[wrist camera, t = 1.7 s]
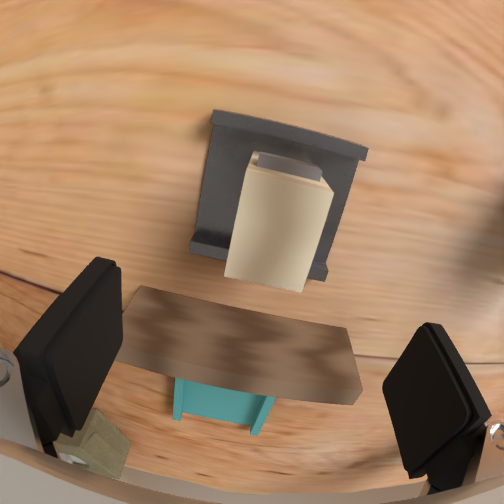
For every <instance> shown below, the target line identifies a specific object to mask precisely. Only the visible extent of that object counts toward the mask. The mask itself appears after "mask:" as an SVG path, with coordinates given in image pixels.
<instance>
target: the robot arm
mask: <svg viewBox="0 0 504 504" xmlns="http://www.w3.org/2000/svg"><path fill="white" fill-rule="evenodd" d="M122 342H123V321H122V293H121V268H120V267H117V266H116V262H115V261H113V260H109V259H105V258H101V257H96V258H94V259H93V260H92V262H91V263H90V264H89V265H88V266H87V267H86V268H85V269H84V270H83V271H82V272H81V273H80V275H79V276H78V277H77V278H76V279H75V280H74V281H73V282H72V283H71V285H70V286H69V287H68V288H67V289H66V290H65V291H64V293H62V294H61V295H59V296H58V297H57V299H56V300H55V301H54V302H53V303H52V304H51V306H50V307H49V308H48V309H47V310H46V312H45V313H44V314H43V315H42V316H41V318H40V319H39V320H38V321H37V322H36V324H35V325H34V326H33V327H32V329H31V330H30V331H29V332H28V334H27V335H26V336H25V338H24V339H23V340H22V341H21V343H20V344H19V345H18V347H17V348H16V349H15V351H14V352H13V353H12V352H10V351H9V350H7V349H5V348H1V347H0V504H220V503H213V502H206V501H201V500H195V499H190V498H184V497H179V496H175V495H170V494H165V493H161V492H157V491H153V490H150V489H146V488H142V487H139V486H135V485H131V484H128V483H125V482H121V481H118V480H115V479H112V478H108V477H105V476H102V475H100V474H97V473H94V472H91V471H88V470H86V469H83V468H80V467H78V466H75V465H73V464H70V463H68V462H65V461H63V460H62V459H61V457H60V454H59V451H58V448H57V445H56V443H55V441H56V440H57V439H58V437H59V435H60V433H62V434H64V435H67V436H69V437H71V438H72V437H73V435H74V433H75V431H76V430H78V431H80V430H81V429H82V428H83V426H84V424H85V421H86V419H87V417H88V415H89V412H90V410H91V408H92V406H93V404H94V401H95V399H96V397H97V395H98V393H99V391H100V389H101V386H102V384H103V382H104V380H105V378H106V376H107V374H108V372H109V370H110V368H111V366H112V364H113V362H114V360H115V358H116V356H117V354H118V352H119V350H120V348H121V345H122ZM382 390H383V394H384V397H385V400H386V404H387V407H388V410H389V414H390V417H391V421H392V424H393V428H394V431H395V435H396V439H397V442H398V446H399V450H400V454H401V458H402V462H403V466H404V469H405V470H406V471H408V475H409V479H413V478H419V477H423V476H424V475H425V474H427V476H428V478H427V480H426V482H425V484H424V487H423V489H422V491H421V493H420V495H419V497H417V498H413V499H407V500H401V501H395V502H389V503H382V504H504V422H502V421H500V420H494V421H489V422H486V421H487V420H488V419H489V418H490V417H491V416H492V415H491V413H490V411H489V409H488V407H487V405H486V403H485V401H484V399H483V397H482V395H481V393H480V391H479V389H478V387H477V385H476V383H475V381H474V380H473V378H472V376H471V374H470V372H469V370H468V369H467V367H466V365H465V363H464V361H463V360H462V358H461V356H460V354H459V353H458V351H457V349H456V348H455V346H454V344H453V343H452V341H451V339H450V338H449V336H448V334H447V333H446V331H445V329H444V328H443V326H442V325H440V324H435V323H428V322H427V323H424V324H423V325H422V326H420V327H419V328H418V329H417V331H416V332H415V334H414V336H413V337H412V339H411V341H410V342H409V344H408V345H407V347H406V349H405V350H404V352H403V353H402V355H401V356H400V358H399V359H398V361H397V362H396V364H395V365H394V367H393V368H392V370H391V371H390V373H389V374H388V376H387V377H386V379H385V380H384V382H383V386H382Z"/></svg>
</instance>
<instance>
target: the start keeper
mask: <svg viewBox="0 0 504 504" xmlns="http://www.w3.org/2000/svg"><path fill="white" fill-rule="evenodd" d="M211 124H214V127H213V132H212V137H211V142H210V147H209V152H208V157H207V163H206V168H205V174H204V179H203V185H202V191H201V197H200V203H199V209H198V215H197V221H196V228H195V234H194V236H193V237H192V239H191V241H190V248H189V253H193V254H198V255H202V256H207V257H211V258H216V259H220V260H225V261H227V258H228V253H229V248H230V243H231V239H232V234H233V229H234V224H235V219H236V215H237V210H238V205H239V201H240V196H241V191H242V187H243V182H244V177H245V173H246V170H247V167H248V164H249V162H250V159H251V157H252V154H253V151H257V152H260V151H261V152H265V153H270V154H274V155H278V156H283V157H287V158H291V159H295V160H299V161H303V162H307V163H310V164H314V165H318V167H319V168H320V169H321V170H322V177H323V179H324V180H325V181H326V183H327V184H328V185H329V187H330V188H331V190H332V191H333V192H334V195H333V198H332V202H331V205H330V208H329V211H328V215H327V218H326V221H325V224H324V227H323V230H322V234H321V237H320V240H319V243H318V246H317V249H316V252H315V255H314V258H313V261H312V264H311V267H310V270H309V273H308V276H307V278H308V279H313V280H318V281H323V282H325V279H326V277H327V274H328V268H327V265H326V260H327V257H328V254H329V251H330V249H331V246H332V243H333V240H334V237H335V234H336V231H337V228H338V225H339V222H340V219H341V216H342V213H343V210H344V207H345V203H346V200H347V197H348V194H349V191H350V188H351V184H352V181H353V178H354V174H355V171H356V168H357V164H358V161H359V160H362V161H365V159H366V156H367V152H368V149H369V148H367V147H365V146H362V145H360V144H356V143H353V142H350V141H347V140H344V139H340V138H337V137H334V136H330V135H327V134H323V133H320V132H316V131H312V130H309V129H305V128H301V127H297V126H293V125H289V124H285V123H281V122H277V121H272V120H268V119H263V118H259V117H254V116H249V115H244V114H239V113H234V112H229V111H223V110H218V109H216V110H213V114H212V119H211Z"/></svg>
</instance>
